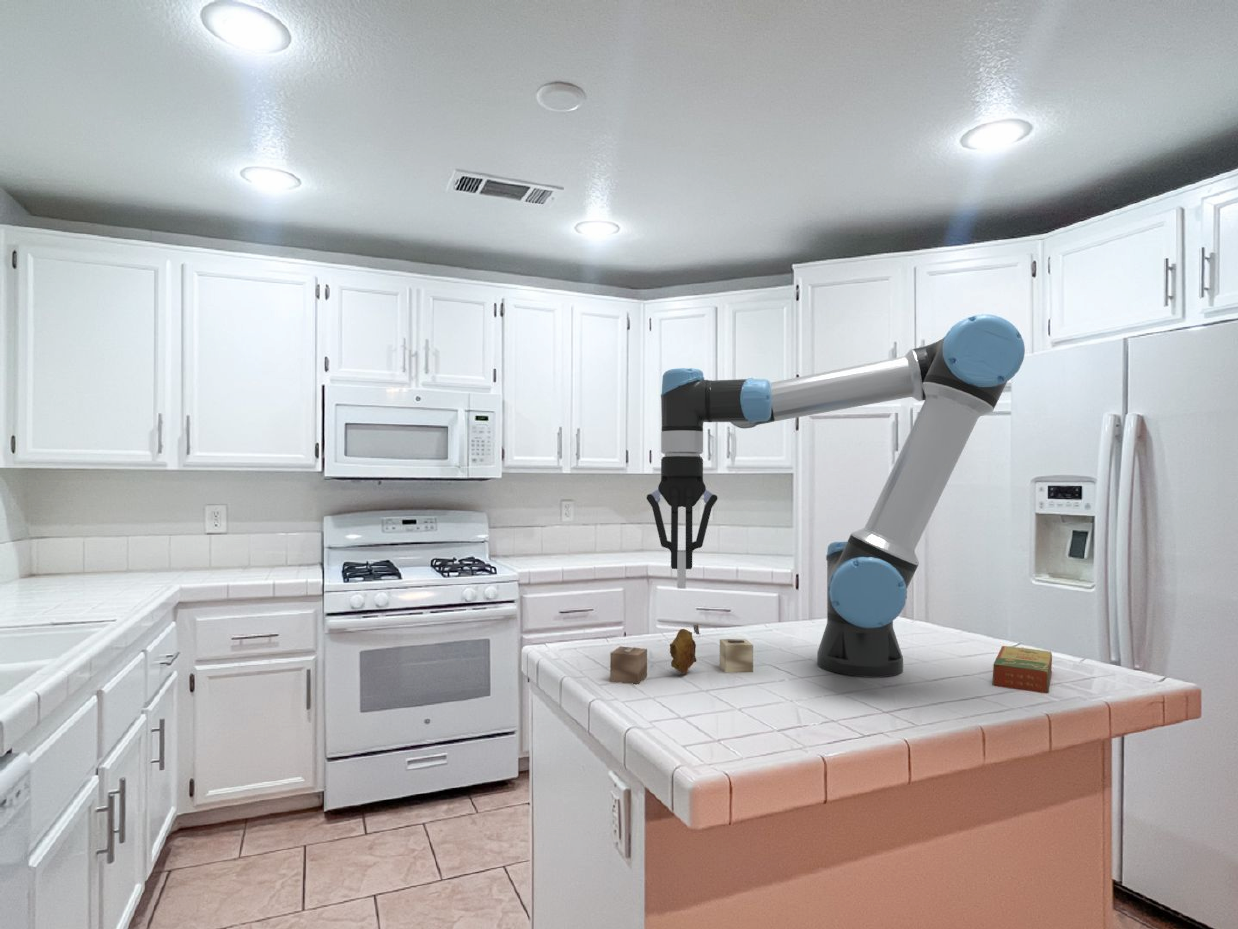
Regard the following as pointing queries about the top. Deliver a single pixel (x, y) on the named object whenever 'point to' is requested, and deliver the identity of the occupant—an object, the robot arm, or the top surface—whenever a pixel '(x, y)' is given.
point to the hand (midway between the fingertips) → (681, 587)
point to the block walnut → (628, 665)
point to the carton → (1023, 669)
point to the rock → (683, 650)
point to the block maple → (736, 655)
